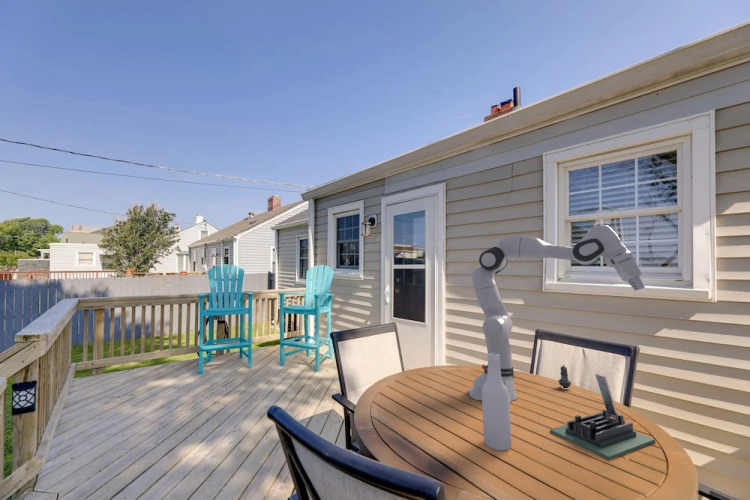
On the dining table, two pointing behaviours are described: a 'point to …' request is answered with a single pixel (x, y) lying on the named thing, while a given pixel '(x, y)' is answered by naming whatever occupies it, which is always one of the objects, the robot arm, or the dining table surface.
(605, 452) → the circuit board
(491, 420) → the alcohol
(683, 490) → the dining table surface
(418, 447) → the dining table surface
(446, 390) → the dining table surface
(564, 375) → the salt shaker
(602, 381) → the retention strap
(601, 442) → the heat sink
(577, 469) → the dining table surface
